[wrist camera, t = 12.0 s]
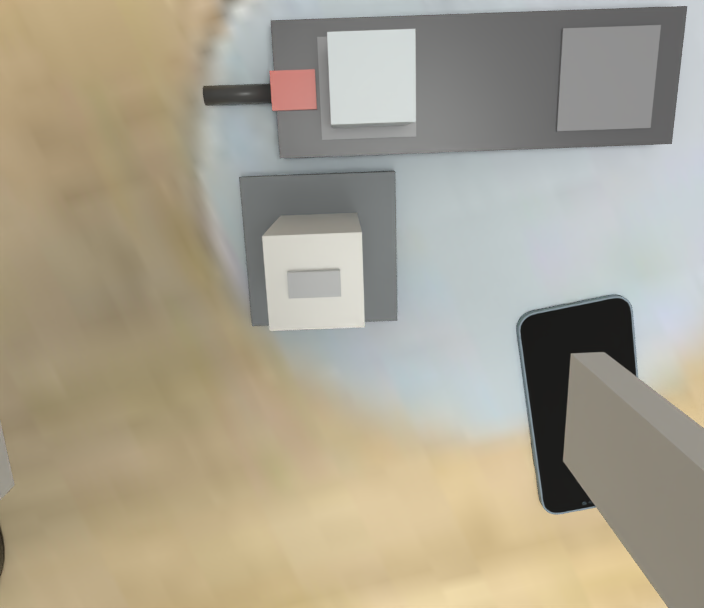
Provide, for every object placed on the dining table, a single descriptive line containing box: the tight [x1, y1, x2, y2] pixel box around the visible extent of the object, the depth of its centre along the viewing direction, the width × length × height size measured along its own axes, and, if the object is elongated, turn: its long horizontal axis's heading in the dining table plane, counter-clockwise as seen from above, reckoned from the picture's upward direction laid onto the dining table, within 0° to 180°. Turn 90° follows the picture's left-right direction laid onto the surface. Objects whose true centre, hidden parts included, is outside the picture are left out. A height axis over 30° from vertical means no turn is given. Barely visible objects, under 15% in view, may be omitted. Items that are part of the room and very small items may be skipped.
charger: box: [262, 213, 365, 331], centre depth 30 cm, size 4×4×8 cm
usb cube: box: [327, 29, 416, 128], centre depth 28 cm, size 4×4×4 cm
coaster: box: [239, 171, 397, 326], centre depth 34 cm, size 9×9×1 cm
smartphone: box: [517, 295, 638, 514], centre depth 38 cm, size 7×1×15 cm
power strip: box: [203, 6, 687, 158], centre depth 31 cm, size 26×7×2 cm, turn 92°
